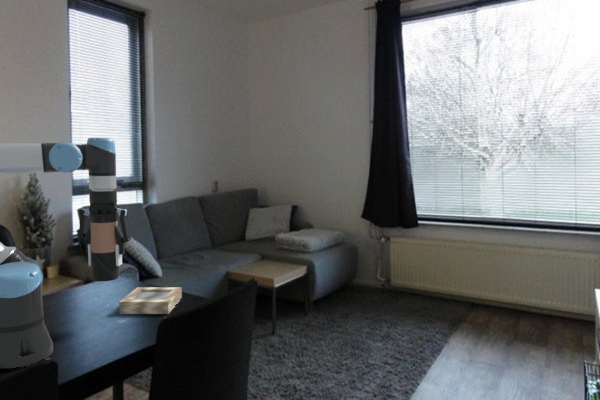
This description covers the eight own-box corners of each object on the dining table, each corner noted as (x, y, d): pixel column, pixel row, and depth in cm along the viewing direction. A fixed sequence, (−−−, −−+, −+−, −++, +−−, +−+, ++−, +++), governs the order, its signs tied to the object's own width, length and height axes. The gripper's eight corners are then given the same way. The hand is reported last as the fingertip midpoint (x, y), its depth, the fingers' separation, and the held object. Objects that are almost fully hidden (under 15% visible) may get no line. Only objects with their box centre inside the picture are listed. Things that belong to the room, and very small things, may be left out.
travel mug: (109, 282, 130) (107, 215, 128) (86, 280, 132) (84, 214, 130) (124, 275, 138) (122, 212, 136) (102, 274, 139) (100, 211, 137)
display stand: (119, 313, 144) (119, 301, 144) (137, 297, 160) (137, 287, 160) (168, 313, 144) (168, 302, 144) (181, 298, 160) (181, 287, 160)
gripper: (141, 189, 136) (143, 262, 138) (75, 188, 136) (78, 261, 138) (132, 191, 128) (134, 268, 130) (62, 190, 128) (65, 267, 130)
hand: (105, 264), depth 134 cm, fingers closed on travel mug, 8 cm apart
